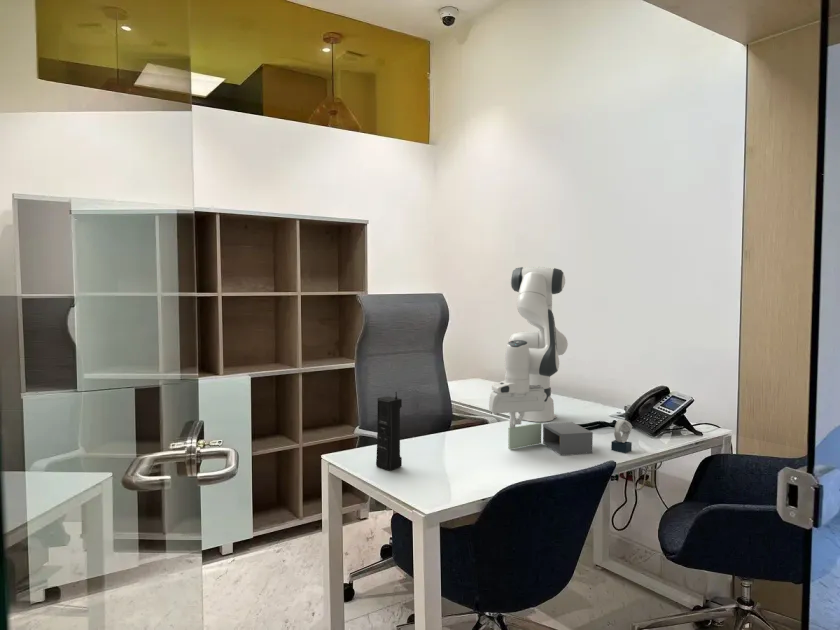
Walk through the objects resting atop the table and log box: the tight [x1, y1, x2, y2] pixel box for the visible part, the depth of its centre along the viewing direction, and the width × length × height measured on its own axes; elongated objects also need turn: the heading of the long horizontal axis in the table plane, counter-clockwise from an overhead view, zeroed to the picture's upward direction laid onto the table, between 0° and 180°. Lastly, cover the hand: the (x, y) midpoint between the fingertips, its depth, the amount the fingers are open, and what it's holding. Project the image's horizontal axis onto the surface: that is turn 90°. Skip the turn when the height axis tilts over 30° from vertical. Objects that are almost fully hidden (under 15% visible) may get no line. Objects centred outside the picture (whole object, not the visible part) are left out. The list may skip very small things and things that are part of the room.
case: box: [542, 421, 594, 456], centre depth 198 cm, size 15×12×8 cm
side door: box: [507, 415, 542, 450], centre depth 200 cm, size 15×2×12 cm, turn 120°
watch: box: [610, 419, 633, 454], centre depth 195 cm, size 6×8×11 cm
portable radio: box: [375, 392, 403, 472], centre depth 178 cm, size 8×6×25 cm
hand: (516, 424), depth 195 cm, fingers closed
